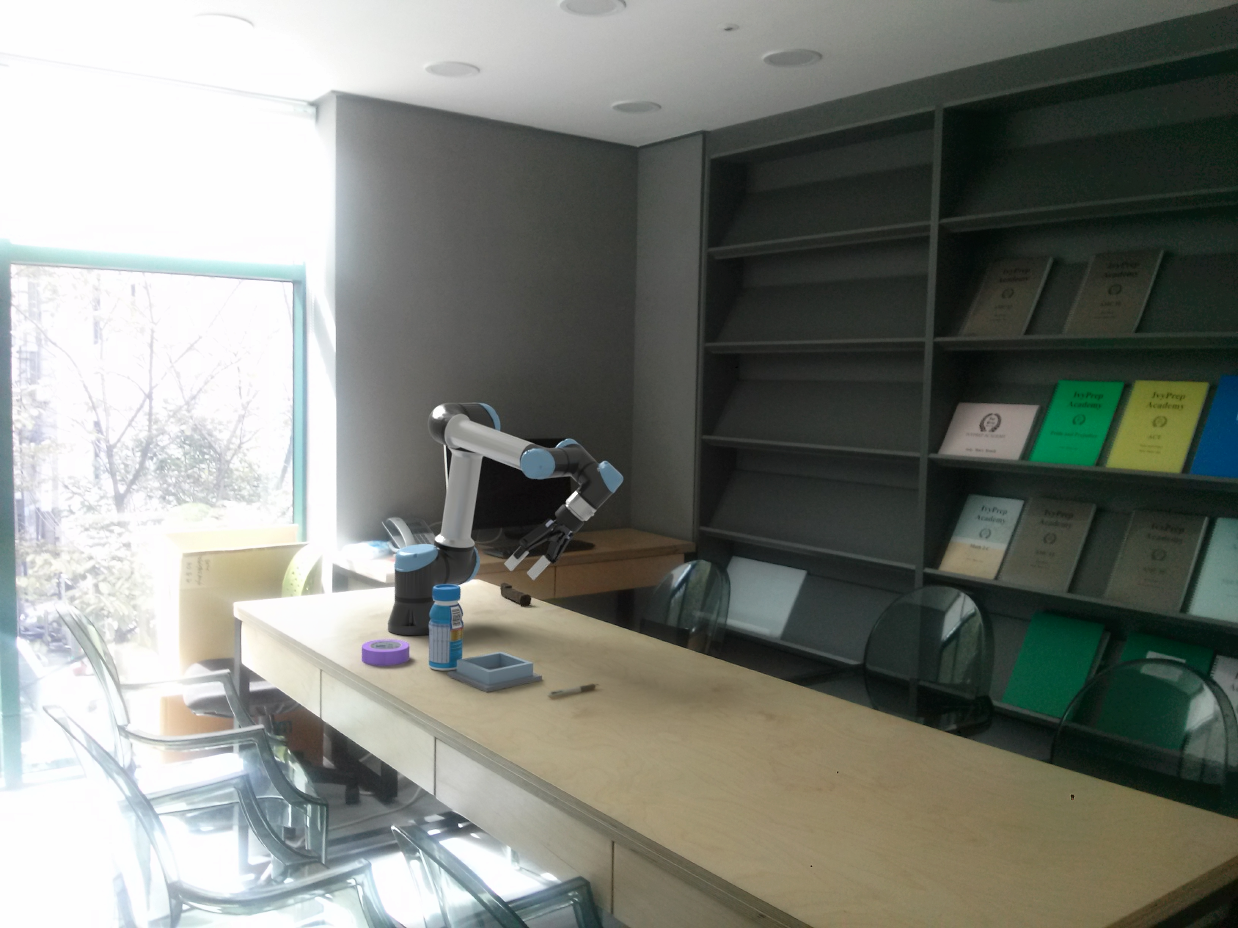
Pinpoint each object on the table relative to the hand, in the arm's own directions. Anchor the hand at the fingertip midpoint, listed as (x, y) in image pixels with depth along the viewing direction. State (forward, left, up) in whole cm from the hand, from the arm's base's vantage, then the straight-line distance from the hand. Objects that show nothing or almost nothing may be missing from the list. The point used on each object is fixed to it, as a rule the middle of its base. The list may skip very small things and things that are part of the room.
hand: (519, 572), depth 263 cm
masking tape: (-15, -30, -22) cm, 40 cm away
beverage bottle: (0, -22, -21) cm, 31 cm away
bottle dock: (+15, -18, -21) cm, 32 cm away
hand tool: (-52, +37, -22) cm, 67 cm away
